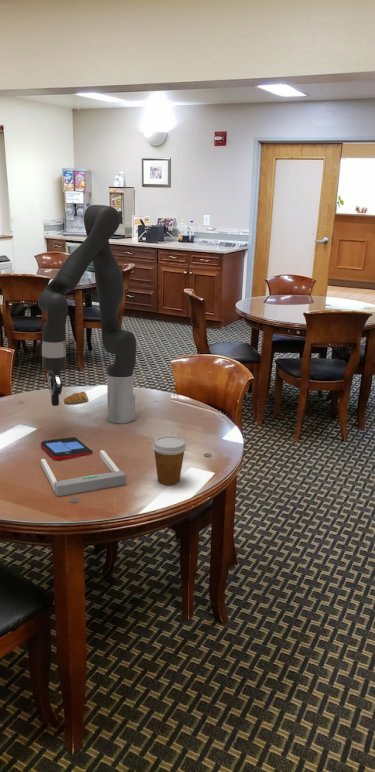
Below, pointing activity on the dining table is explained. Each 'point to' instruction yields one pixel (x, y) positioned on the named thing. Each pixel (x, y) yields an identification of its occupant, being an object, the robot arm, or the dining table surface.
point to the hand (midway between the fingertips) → (55, 405)
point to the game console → (65, 448)
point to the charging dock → (86, 479)
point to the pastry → (76, 398)
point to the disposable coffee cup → (169, 458)
